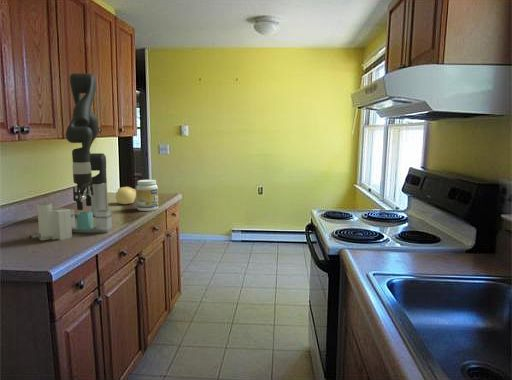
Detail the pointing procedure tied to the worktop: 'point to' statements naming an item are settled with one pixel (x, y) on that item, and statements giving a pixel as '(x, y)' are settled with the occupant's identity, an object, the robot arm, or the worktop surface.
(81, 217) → the block
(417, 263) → the worktop surface
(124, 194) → the pale yellow ball
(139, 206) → the supplement tub
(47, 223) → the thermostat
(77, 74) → the robot arm
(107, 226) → the rail
